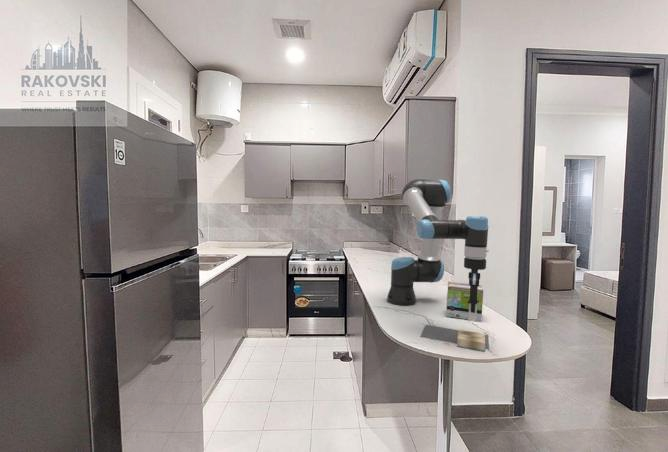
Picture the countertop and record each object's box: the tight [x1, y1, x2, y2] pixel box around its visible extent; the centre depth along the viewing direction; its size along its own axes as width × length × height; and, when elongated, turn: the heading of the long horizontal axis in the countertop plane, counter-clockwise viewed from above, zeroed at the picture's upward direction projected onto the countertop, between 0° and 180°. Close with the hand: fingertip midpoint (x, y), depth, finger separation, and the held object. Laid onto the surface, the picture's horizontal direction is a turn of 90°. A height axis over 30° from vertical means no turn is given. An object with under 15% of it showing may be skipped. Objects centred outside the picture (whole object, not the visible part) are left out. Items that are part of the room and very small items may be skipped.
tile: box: [456, 329, 486, 353], centre depth 116 cm, size 9×3×9 cm
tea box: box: [445, 281, 484, 322], centre depth 148 cm, size 15×10×15 cm
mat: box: [419, 324, 490, 350], centre depth 124 cm, size 24×14×1 cm, turn 65°
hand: (472, 319), depth 119 cm, fingers closed
